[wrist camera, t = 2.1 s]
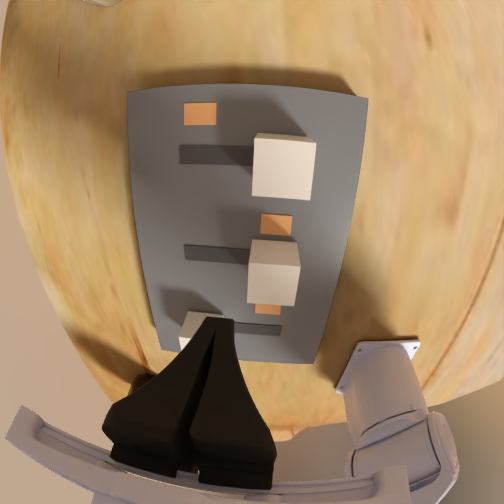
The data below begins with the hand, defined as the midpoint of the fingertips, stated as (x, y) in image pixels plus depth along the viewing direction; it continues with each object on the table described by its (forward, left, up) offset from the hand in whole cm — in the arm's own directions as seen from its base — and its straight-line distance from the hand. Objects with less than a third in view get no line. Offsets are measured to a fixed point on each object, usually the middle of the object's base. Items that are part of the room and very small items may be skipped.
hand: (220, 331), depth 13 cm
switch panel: (0, 0, -9) cm, 9 cm away
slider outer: (+7, -3, -7) cm, 10 cm away
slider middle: (0, -3, -7) cm, 8 cm away
